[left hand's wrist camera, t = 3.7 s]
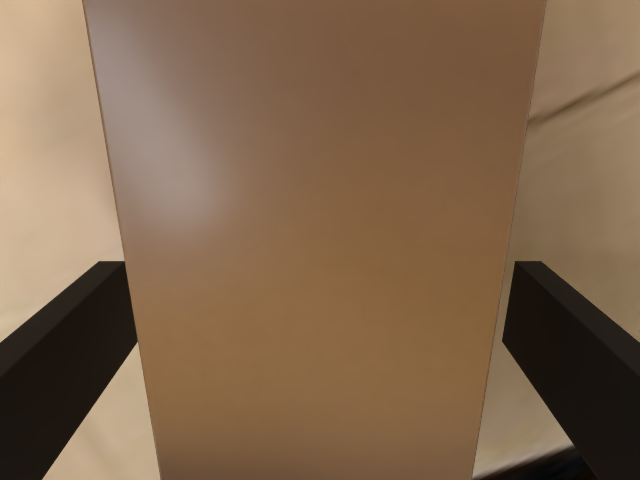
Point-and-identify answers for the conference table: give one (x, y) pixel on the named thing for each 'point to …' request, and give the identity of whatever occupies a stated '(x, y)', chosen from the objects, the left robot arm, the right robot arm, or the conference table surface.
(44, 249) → the conference table surface
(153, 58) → the bar
